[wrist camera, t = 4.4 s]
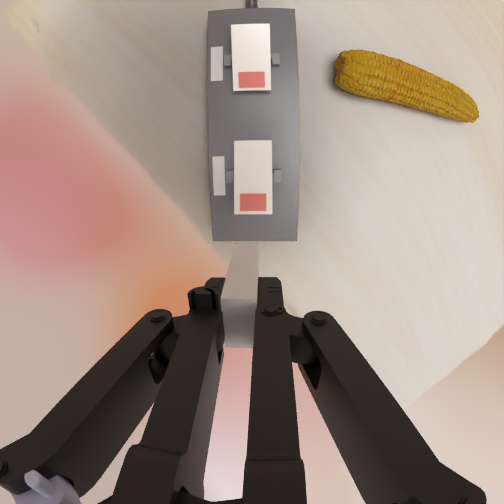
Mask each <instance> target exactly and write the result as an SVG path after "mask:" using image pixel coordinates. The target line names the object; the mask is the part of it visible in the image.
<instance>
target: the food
mask: <svg viewBox="0 0 504 504" xmlns="http://www.w3.org/2000/svg"><path fill="white" fill-rule="evenodd" d="M337 60H338V61H336V62H335V67H336V69H337V74H336V77H335V84H336V85H338V86H339V87H340V88H342V89H343V90H345V91H347V92H350V93H353V94H355V95H358V96H362V97H366V98H372V99H380V100H382V101H383V100H384V101H387V102H391V103H397V104H401V105H405V106H409V107H411V108H414V109H419V110H423V111H427V112H431V113H434V114H437V115H439V116H442V117H445V118H449V119H452V120H456V121H461V122H467V123H468V122H471V123H473V122H474V121H475V120H476V119H477V118H479V115H478V113H479V111H478V109H477V105H476V103H475V101H474V100H473V99H472V98H471V97H470V96H469V95H468V94H467V93H465V92H464V91H463V90H462V89H460V88H459V87H457V86H456V85H454V84H453V83H450V82H449V81H446V80H444V79H442V78H440V77H438V76H435V75H433V74H431V73H429V72H427V71H425V70H423V69H420V68H418V67H416V66H413V65H411V64H408V63H406V62H403V61H402V60H399V59H395V58H392V57H388V56H385V55H382V54H377V53H375V52H370V51H365V50H350V51H343V52H341V53H340V54H339V57H338V58H337Z"/></svg>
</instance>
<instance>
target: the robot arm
mask: <svg viewBox="0 0 504 504" xmlns="http://www.w3.org/2000/svg"><path fill="white" fill-rule="evenodd" d="M188 299H189V307H190V311H189V313H188V314H187V315H183V316H179V317H172V313H171V312H170V311H168V310H165V309H156V310H152V311H150V312H148V313H147V314H145V315H144V317H142V318H141V319H140V320H139V321H138V322H137V323H136V324H135V325H134V326H133V327H132V328H131V329H130V330H129V331H128V332H127V333H126V334H125V335H124V336H123V337H122V338H121V339H120V340H119V341H118V342H117V343H116V344H115V345H114V346H113V347H112V348H111V349H110V350H109V351H108V352H107V353H106V354H105V355H104V356H103V357H102V358H101V359H100V360H99V361H98V362H97V363H96V364H95V365H94V366H93V367H92V368H91V369H90V370H89V371H88V372H87V373H86V374H85V375H84V376H83V377H82V378H81V379H80V380H79V381H78V382H77V383H76V384H75V386H74V387H73V388H72V389H71V390H70V391H69V392H68V393H67V394H66V395H65V396H64V397H63V398H62V399H61V400H60V401H59V403H57V404H56V406H55V407H54V408H53V409H52V410H51V411H50V412H49V413H48V414H47V415H46V416H45V417H44V418H43V419H42V421H41V422H40V423H39V424H38V425H37V426H36V427H35V428H34V429H33V430H32V432H31V433H30V434H28V435H26V436H24V437H22V438H20V439H19V440H17V441H15V442H13V443H11V444H9V445H7V446H5V447H4V448H2V449H0V486H2V487H3V488H5V489H6V490H8V491H9V492H10V493H11V494H12V496H13V498H14V500H15V502H16V504H82V503H81V502H80V500H79V498H80V497H82V496H83V495H85V494H86V493H87V492H88V491H89V490H90V489H91V488H92V487H93V486H94V485H95V484H96V483H97V481H98V480H99V479H100V478H101V476H102V475H103V474H104V472H105V471H106V469H107V468H108V467H109V465H110V464H111V462H112V461H113V460H114V458H115V457H116V455H117V454H118V452H119V451H120V450H121V448H122V447H123V445H124V444H125V443H126V441H127V440H128V438H129V437H130V436H131V434H132V433H133V431H134V430H135V428H136V427H137V426H138V424H139V423H140V421H141V420H142V418H143V417H144V416H145V414H146V413H147V411H148V410H149V408H150V407H151V406H152V404H153V403H154V405H153V408H152V411H151V414H150V416H149V419H148V422H147V425H146V428H145V431H144V434H143V437H142V440H141V441H140V443H139V444H136V445H132V446H131V447H130V448H129V450H128V452H127V454H126V456H125V459H124V462H123V465H122V468H121V471H120V474H119V477H118V480H117V483H116V486H115V489H114V492H113V495H112V496H110V497H109V498H107V499H105V500H103V501H102V502H100V503H98V504H307V498H306V482H305V470H304V463H303V460H302V459H301V457H300V449H299V436H298V424H297V412H296V400H295V390H294V379H293V369H292V362H294V363H298V367H299V369H300V371H301V373H302V376H303V378H304V379H305V382H306V384H307V386H308V388H309V390H310V392H311V394H312V396H313V398H314V400H315V402H316V405H317V407H318V409H319V410H320V413H321V414H322V417H323V419H324V421H325V423H326V425H327V427H328V429H329V431H330V433H331V435H332V437H333V439H334V441H335V443H336V445H337V448H338V449H339V452H340V454H341V456H342V458H343V460H344V462H345V464H346V466H347V468H348V470H349V472H350V474H351V476H352V478H353V480H354V482H355V484H356V486H357V488H358V490H359V492H360V494H361V496H362V498H363V500H364V501H365V503H366V504H486V495H485V493H484V492H483V490H481V488H479V487H478V486H476V485H474V484H473V483H471V482H469V481H468V480H466V479H465V478H463V477H462V476H460V475H459V474H457V473H456V472H454V471H452V470H451V469H449V468H448V467H446V466H445V465H443V464H442V463H440V462H439V460H438V459H437V458H436V456H435V455H434V453H433V452H432V450H431V449H430V447H429V446H428V445H427V443H426V442H425V440H424V439H423V437H422V436H421V435H420V433H419V432H418V430H417V429H416V428H415V426H414V425H413V423H412V422H411V421H410V419H409V418H408V416H407V415H406V414H405V412H404V411H403V409H402V408H401V407H400V405H399V404H398V402H397V401H396V400H395V398H394V397H393V396H392V394H391V393H390V392H389V390H388V389H387V387H386V386H385V385H384V383H383V382H382V381H381V379H380V378H379V377H378V375H377V374H376V373H375V371H374V370H373V369H372V367H371V366H370V365H369V363H368V362H367V361H366V359H365V358H364V357H363V355H362V354H361V353H360V351H359V350H358V349H357V347H356V346H355V345H354V343H353V342H352V341H351V339H350V338H349V337H348V336H347V334H346V333H345V332H344V330H343V329H342V328H341V326H340V325H339V324H338V323H337V321H336V320H335V319H334V317H333V316H331V315H330V314H329V313H326V312H323V311H312V312H309V313H307V314H306V315H304V318H299V317H295V316H292V315H290V314H288V313H287V312H286V310H285V308H284V303H283V294H282V286H281V281H280V280H279V279H278V278H277V277H259V243H235V246H234V249H233V253H232V257H231V260H230V264H229V268H228V272H227V275H226V278H210V279H209V280H208V281H207V282H206V283H205V286H203V287H197V288H194V289H192V290H190V291H189V292H188ZM224 343H225V347H238V348H240V347H241V348H253V360H252V376H251V394H250V410H249V426H248V442H247V456H246V461H245V469H244V483H243V497H242V498H241V499H235V500H226V501H217V502H210V501H207V500H204V486H203V480H204V473H205V466H206V460H207V454H208V448H209V441H210V434H211V429H212V422H213V416H214V411H215V404H216V398H217V392H218V386H219V380H220V374H221V368H222V363H223V357H224V351H223V344H224ZM152 353H153V354H152ZM151 354H152V355H151ZM154 401H155V402H154Z"/></svg>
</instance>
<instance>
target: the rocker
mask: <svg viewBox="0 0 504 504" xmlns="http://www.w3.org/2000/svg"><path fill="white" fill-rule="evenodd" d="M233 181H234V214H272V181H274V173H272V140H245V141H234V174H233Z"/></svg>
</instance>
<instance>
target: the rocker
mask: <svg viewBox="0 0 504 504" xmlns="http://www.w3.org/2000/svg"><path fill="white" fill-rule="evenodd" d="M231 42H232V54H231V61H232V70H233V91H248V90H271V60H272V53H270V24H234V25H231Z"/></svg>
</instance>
